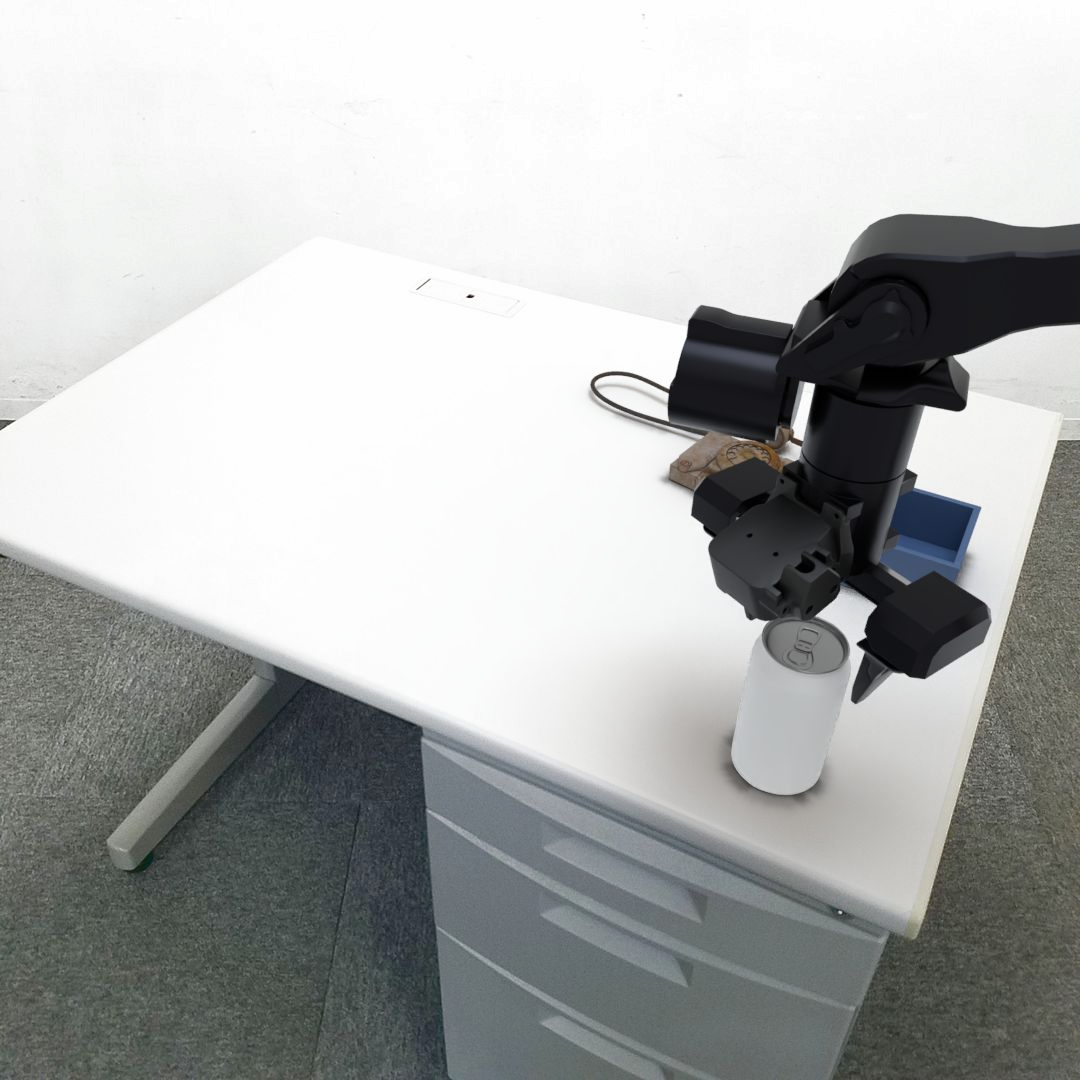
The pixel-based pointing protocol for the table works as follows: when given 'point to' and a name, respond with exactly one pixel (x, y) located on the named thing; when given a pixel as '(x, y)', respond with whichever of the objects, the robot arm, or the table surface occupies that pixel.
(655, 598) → the table surface
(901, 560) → the bin
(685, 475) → the telephone
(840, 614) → the table surface
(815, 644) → the can
